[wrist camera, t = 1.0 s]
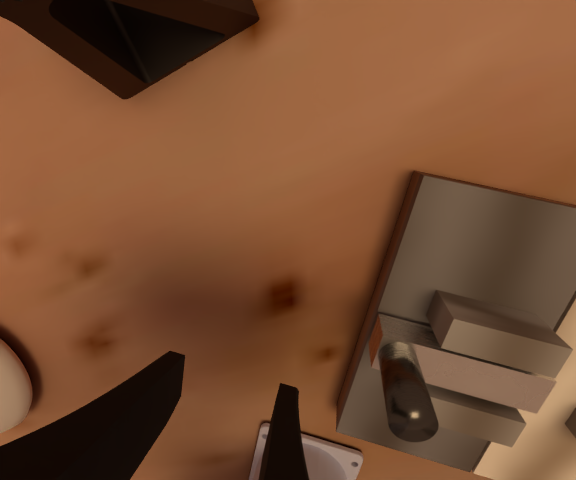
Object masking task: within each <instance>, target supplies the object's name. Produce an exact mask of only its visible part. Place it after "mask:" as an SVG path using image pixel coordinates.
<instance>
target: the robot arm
mask: <svg viewBox="0 0 576 480" xmlns="http://www.w3.org/2000/svg"><path fill="white" fill-rule="evenodd" d="M184 361H185V355H182V354H179V353H176V352H172V351H169V352H167V353H166V354H164V355H163V356H161V357H160V358H158V359H157V360H156V361H154V362H153V363H151V364H150V365H148V366H147V367H146V368H144V369H143V370H141V371H140V372H138V373H137V374H135V375H134V376H132V377H131V378H129V379H128V380H126V381H124V382H123V383H121V384H120V385H118V386H117V387H115V388H114V389H112V390H110V391H109V392H107V393H105V394H104V395H102V396H100V397H99V398H97V399H95V400H94V401H92V402H90V403H89V404H87V405H85V406H83V407H81V408H80V409H78V410H76V411H74V412H72V413H70V414H69V415H67V416H65V417H63V418H61V419H59V420H57V421H55V422H53V423H51V424H49V425H47V426H45V427H42V428H40V429H38V430H36V431H34V432H32V433H30V434H27V435H25V436H23V437H21V438H18V439H16V440H14V441H12V442H9V443H7V444H5V445H2V446H0V480H130V479H131V477H132V476H133V474H134V473H135V471H136V470H137V468H138V467H139V465H140V464H141V462H142V460H143V459H144V457H145V456H146V454H147V453H148V451H149V450H150V448H151V447H152V445H153V444H154V442H155V441H156V439H157V438H158V436H159V435H160V433H161V432H162V430H163V429H164V427H165V426H166V424H167V422H168V420H169V418H170V417H171V415H172V413H173V411H174V409H175V407H176V405H177V403H178V401H179V399H180V397H181V391H182V381H183V371H184ZM298 394H299V391H298V389H297V388H296V387H292V386H289V385H285V384H282V383H280V386H279V390H278V394H277V397H276V401H275V405H274V410H273V414H272V418H271V422H270V424H269V423H263V424H262V425H261V428H260V432H259V436H258V441H257V445H256V449H255V454H254V458H253V463H252V467H251V472H250V476H249V480H356V478H357V475H358V473H359V470H360V468H361V465H362V463H363V454H362V453H361V452H360V451H357V450H354V449H351V448H347V447H344V446H341V445H338V444H334V443H331V442H328V441H325V440H321V439H318V438H315V437H311V436H308V435H305V434H302V433H301V430H300V421H299V408H298Z"/></svg>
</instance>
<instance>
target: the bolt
mask: <svg viewBox="0 0 576 480" xmlns="http://www.w3.org/2000/svg"><path fill="white" fill-rule="evenodd" d="M368 344H369V353H370V361H371V368H374V369H377V370H380V373H381V379H382V386H383V392H384V399H385V406H386V412H387V419H388V425H389V428H390V430H391V432H392V433H393V434H394V435H395V436H396V437H398V438H400V439H402V440H404V441H408V442H423V441H426V440H428V439H430V438H432V437H433V436H434V435H435V434H436V432H437V431H438V427H439V423H438V419H437V416H436V413H435V410H434V407H433V404H432V401H431V398H430V395H429V392H428V389H427V386H426V383H427V384H431V385H435V386H438V387H442V388H445V389H449V390H453V391H456V392H460V393H463V394H467V395H471V396H474V397H478V398H481V399H485V400H488V401H492V402H496V403H499V404H503V405H506V406H510V407H514V408H517V409H521V410H524V411H528V412H531V413H535V414H537V413H538V411H539V410H540V408H541V406H542V405H543V403H544V402H545V400H546V399H547V397H548V395H549V394H550V392H551V391H552V389H553V387H554V386H555V384H556V383H557V382H556V380H555V379H554V378H551V377H548V376H544V375H540V374H536V373H533V372H529V371H525V370H521V369H518V368H514V367H510V366H506V365H503V364H499V363H495V362H491V361H488V360H484V359H480V358H476V357H473V356H469V355H465V354H461V353H458V352H454V351H450V350H446V349H443V348H441V347H440V345H439V343H438V341H437V338H436V336H435V334H434V332H433V330H432V327H429V326H425V325H421V324H417V323H413V322H410V321H406V320H402V319H398V318H394V317H390V316H387V315H383V314H378V317H377V320H376V323H375V326H374V329H373V332H372V334H371V337H370V340H369V343H368Z"/></svg>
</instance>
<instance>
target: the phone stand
mask: <svg viewBox="0 0 576 480" xmlns="http://www.w3.org/2000/svg"><path fill="white" fill-rule="evenodd" d="M0 16H1V17H3V18H5V19H7V20H9V21H11V22H13V23H15V24H16V25H18V26H19V27H21V28H22V29H24V30H25V31H27V32H28V33H29V34H31V35H32V36H34V37H35V38H36V39H38V40H39V41H41V42H42V43H44V44H45V45H46V46H48V47H49V48H51V49H52V50H54V51H55V52H56V53H58V54H59V55H61V56H62V57H63V58H65V59H66V60H68V61H69V62H71V63H72V64H73V65H75V66H76V67H78V68H79V69H80V70H82V71H83V72H85V73H86V74H88V75H89V76H90V77H92V78H93V79H95V80H96V81H98V82H99V83H100V84H102V85H103V86H105V87H106V88H107V89H109V90H110V91H112V92H113V93H115V94H116V95H117V96H119V97H120V98H122V99H128V98H131V97H133V96H134V95H136V94H138V93H139V92H141V91H143V90H144V89H146V88H148V87H149V86H151V85H153V84H154V83H156V82H158V81H159V80H161V79H163V78H164V77H166V76H168V75H169V74H171V73H173V72H174V71H176V70H178V69H179V68H181V67H183V66H184V65H186V63H187V62H188V61H193V60H194V59H196V58H198V57H199V56H201V55H203V54H204V53H206V52H208V51H209V50H211V49H213V48H214V47H216V46H218V45H219V44H221V43H223V42H224V41H226V40H228V39H229V38H231V37H233V36H234V35H236V34H238V33H239V32H241V31H243V30H244V29H246V28H248V27H250V26H251V25H253V24H255V23H256V22H257V21H258V20H259V16H258V14H257V11H256V9H255V6H254V4H253V1H252V0H0Z"/></svg>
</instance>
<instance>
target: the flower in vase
mask: <svg viewBox="0 0 576 480" xmlns="http://www.w3.org/2000/svg"><path fill="white" fill-rule="evenodd" d="M32 395H33V392H32V385H31V381H30V378H29V375H28V373H27V371H26V369H25V367H24V365H23V364H22V362H21V361H20V359H19V358H18V357H17V355H16V354H15V353H14V351H13V350H12V349H11V348H10V347H9V346H8V345H7V344H6V343H5V342H4V341H2V340H1V339H0V433H2V432H5V431H7V430H9V429H11V428H13V427H15V426H17V425H19V424H20V423H21V422H22V421H23V420H24V419H25V418H26V416H27V414H28V411H29V409H30V406H31V403H32Z"/></svg>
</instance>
